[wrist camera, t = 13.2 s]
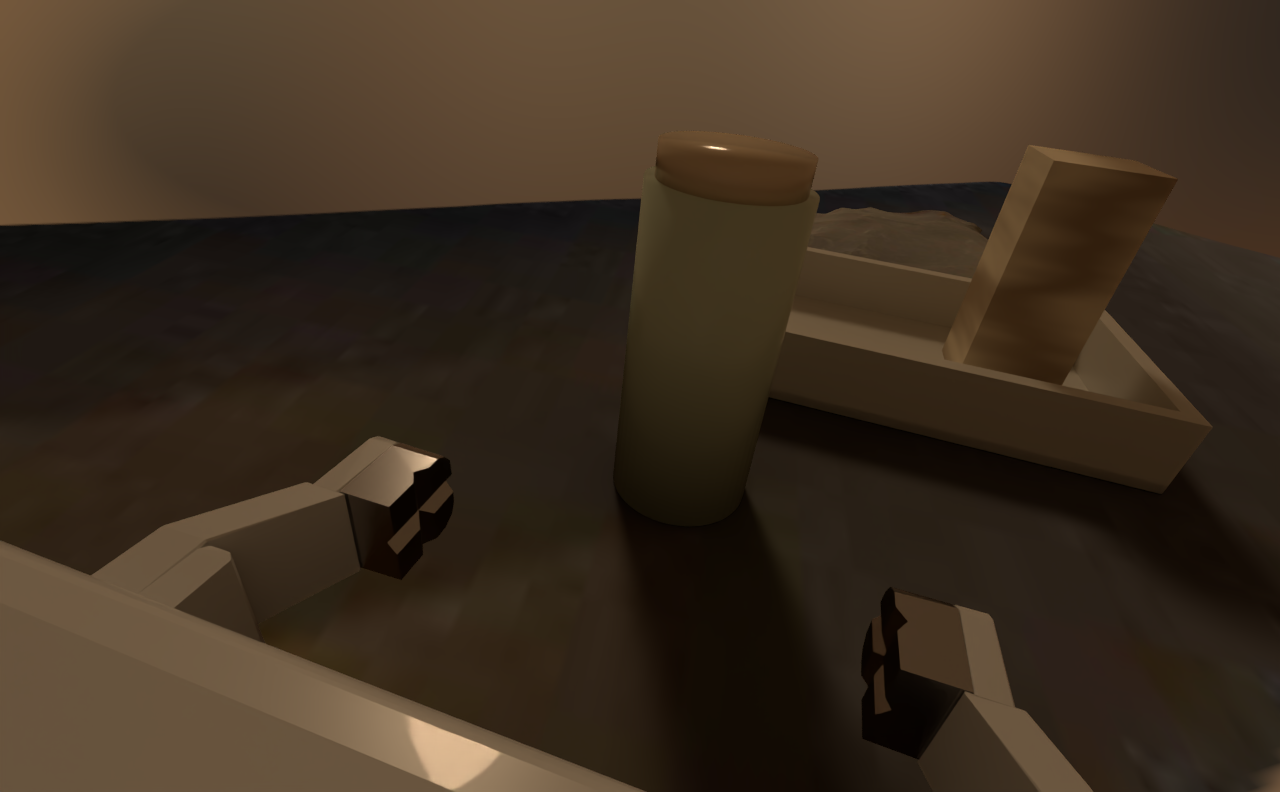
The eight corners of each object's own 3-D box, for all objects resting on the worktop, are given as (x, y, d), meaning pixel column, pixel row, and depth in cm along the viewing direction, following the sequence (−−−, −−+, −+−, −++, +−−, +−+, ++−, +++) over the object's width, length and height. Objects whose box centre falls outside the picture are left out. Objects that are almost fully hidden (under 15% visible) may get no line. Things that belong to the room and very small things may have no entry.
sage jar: (593, 502, 21) (622, 144, 15) (636, 428, 26) (674, 122, 19) (730, 543, 20) (825, 179, 14) (752, 459, 24) (833, 147, 18)
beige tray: (634, 363, 30) (641, 299, 28) (695, 276, 41) (703, 226, 39) (1162, 494, 25) (1212, 427, 23) (1069, 355, 36) (1098, 303, 35)
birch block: (951, 387, 30) (1054, 160, 25) (941, 350, 34) (1028, 144, 28) (1048, 409, 29) (1178, 178, 24) (1027, 368, 33) (1135, 160, 27)
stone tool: (744, 237, 55) (917, 364, 35) (749, 199, 53) (935, 309, 33) (924, 233, 60) (1170, 342, 39) (934, 198, 58) (1197, 292, 38)
